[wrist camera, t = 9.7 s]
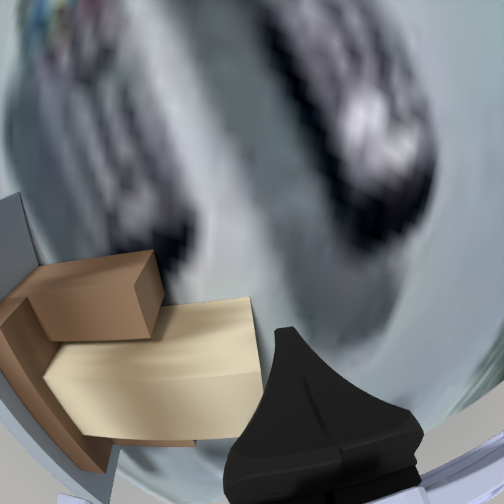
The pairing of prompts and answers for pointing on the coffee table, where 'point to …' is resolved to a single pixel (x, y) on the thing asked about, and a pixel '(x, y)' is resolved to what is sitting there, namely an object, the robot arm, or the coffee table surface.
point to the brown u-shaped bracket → (76, 336)
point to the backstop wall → (3, 397)
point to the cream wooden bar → (165, 376)
